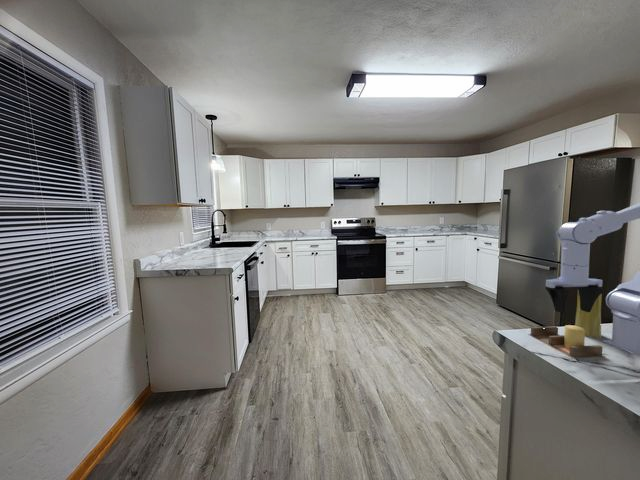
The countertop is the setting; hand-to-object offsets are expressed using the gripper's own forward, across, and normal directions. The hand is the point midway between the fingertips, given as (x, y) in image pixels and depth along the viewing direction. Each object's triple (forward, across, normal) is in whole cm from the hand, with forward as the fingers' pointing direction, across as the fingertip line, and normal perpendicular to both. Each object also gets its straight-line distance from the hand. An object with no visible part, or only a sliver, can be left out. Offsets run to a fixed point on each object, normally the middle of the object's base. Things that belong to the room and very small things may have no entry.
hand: (572, 311), depth 76 cm
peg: (+10, +2, +3) cm, 10 cm away
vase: (+10, -12, -7) cm, 18 cm away
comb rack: (+10, +2, 0) cm, 11 cm away
